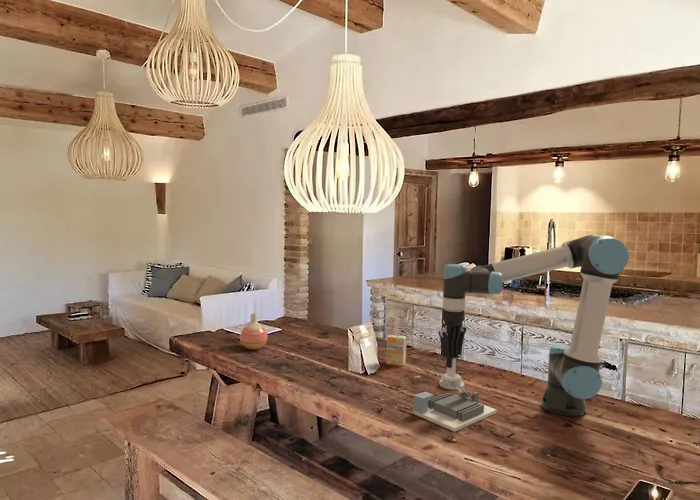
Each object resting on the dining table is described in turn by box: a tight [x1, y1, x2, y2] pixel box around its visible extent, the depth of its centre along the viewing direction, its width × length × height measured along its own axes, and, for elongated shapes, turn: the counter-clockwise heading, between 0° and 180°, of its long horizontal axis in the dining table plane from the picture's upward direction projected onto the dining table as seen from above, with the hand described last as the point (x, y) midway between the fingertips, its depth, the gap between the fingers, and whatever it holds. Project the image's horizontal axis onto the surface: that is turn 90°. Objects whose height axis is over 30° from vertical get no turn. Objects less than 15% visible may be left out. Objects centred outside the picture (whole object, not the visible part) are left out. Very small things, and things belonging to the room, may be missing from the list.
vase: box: [239, 312, 268, 351], centre depth 255 cm, size 14×14×18 cm
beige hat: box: [438, 372, 465, 391], centre depth 207 cm, size 10×4×10 cm
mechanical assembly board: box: [413, 387, 498, 433], centre depth 179 cm, size 18×24×6 cm
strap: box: [440, 375, 473, 400], centre depth 180 cm, size 5×17×1 cm
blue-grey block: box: [413, 391, 435, 414], centre depth 179 cm, size 4×6×5 cm
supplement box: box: [385, 334, 408, 367], centre depth 233 cm, size 8×5×13 cm, turn 68°
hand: (450, 375), depth 176 cm, fingers closed
